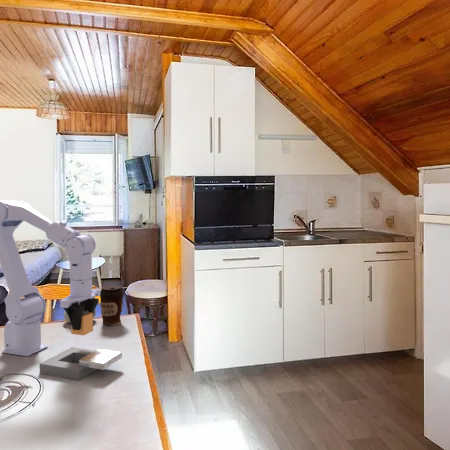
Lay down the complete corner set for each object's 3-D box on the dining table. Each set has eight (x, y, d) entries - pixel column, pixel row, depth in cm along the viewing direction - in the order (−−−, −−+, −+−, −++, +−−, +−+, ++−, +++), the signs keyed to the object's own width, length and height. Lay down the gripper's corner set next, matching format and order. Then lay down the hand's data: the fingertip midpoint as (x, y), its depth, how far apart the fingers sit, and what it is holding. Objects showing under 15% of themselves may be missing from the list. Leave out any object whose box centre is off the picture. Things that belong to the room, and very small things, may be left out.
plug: (71, 333, 110) (71, 312, 110) (81, 329, 114) (80, 308, 114) (83, 335, 109) (83, 313, 109) (92, 330, 113) (92, 309, 112)
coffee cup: (117, 328, 137) (116, 290, 136) (94, 326, 139) (94, 289, 138) (128, 320, 146) (127, 285, 145) (107, 319, 147) (106, 284, 146)
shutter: (79, 365, 99) (79, 359, 99) (99, 354, 107) (99, 348, 107) (103, 369, 97) (103, 363, 97) (121, 357, 105) (121, 352, 105)
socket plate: (39, 373, 101) (39, 363, 101) (72, 355, 112) (72, 347, 112) (79, 380, 97) (78, 370, 97) (108, 361, 109) (108, 352, 108)
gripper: (75, 284, 102) (76, 336, 103) (108, 275, 116) (109, 320, 117) (53, 283, 105) (54, 333, 105) (88, 273, 118) (89, 318, 119)
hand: (81, 327), depth 111 cm, fingers closed on plug, 4 cm apart
